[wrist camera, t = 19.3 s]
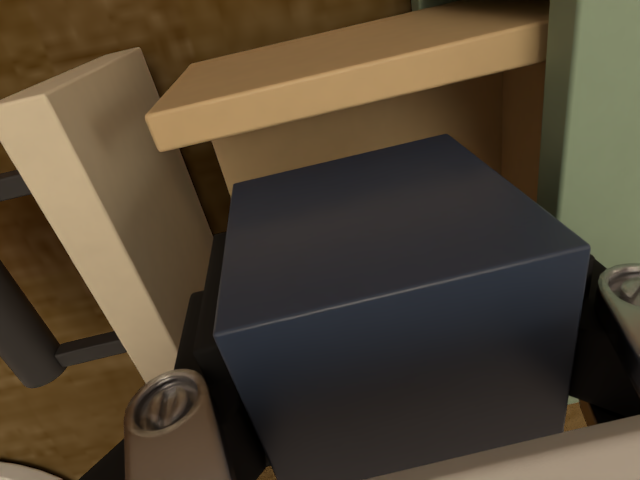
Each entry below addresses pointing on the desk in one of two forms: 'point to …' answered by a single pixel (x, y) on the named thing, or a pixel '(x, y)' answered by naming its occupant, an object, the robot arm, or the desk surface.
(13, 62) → the desk surface
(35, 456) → the desk surface
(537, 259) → the block
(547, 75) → the cabinet
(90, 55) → the desk surface
